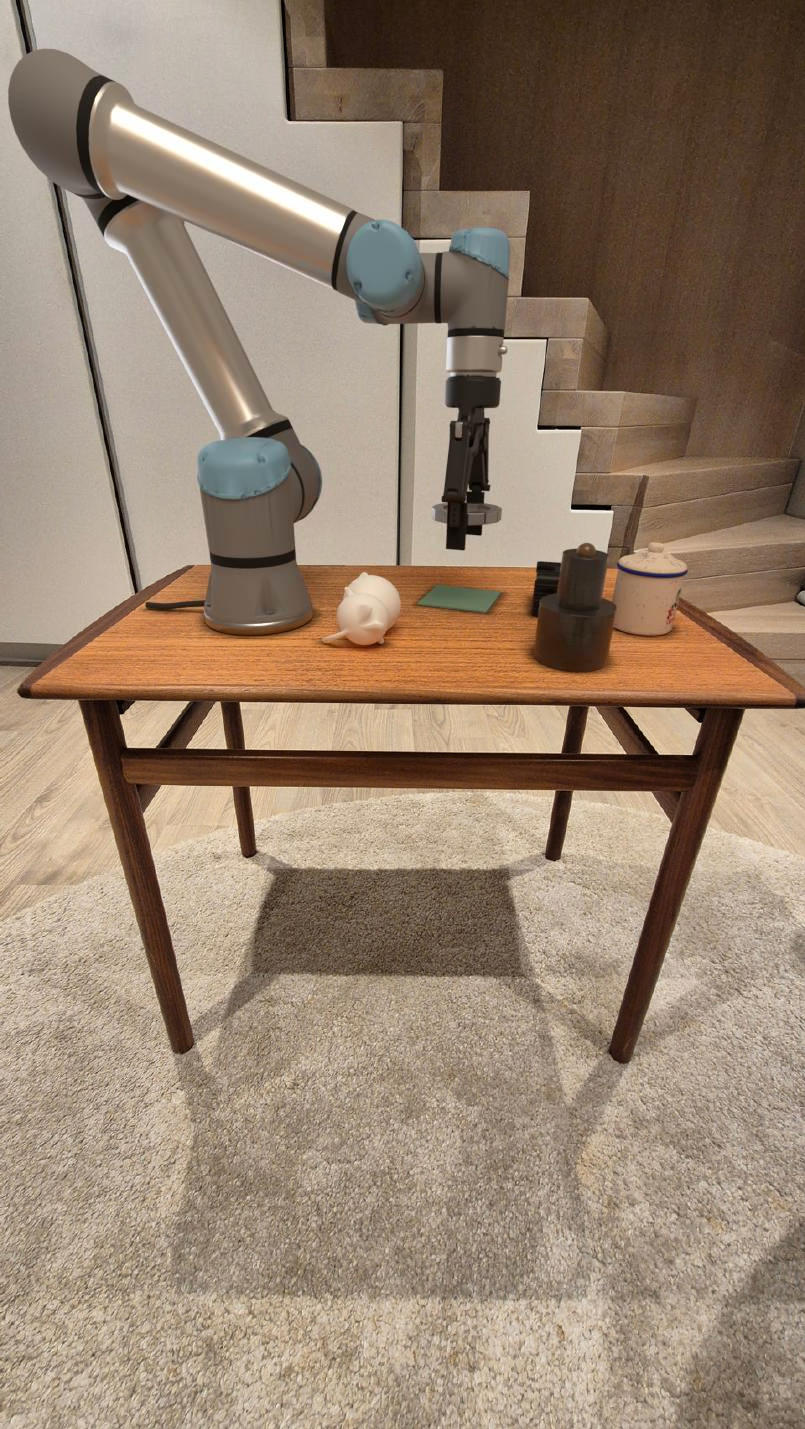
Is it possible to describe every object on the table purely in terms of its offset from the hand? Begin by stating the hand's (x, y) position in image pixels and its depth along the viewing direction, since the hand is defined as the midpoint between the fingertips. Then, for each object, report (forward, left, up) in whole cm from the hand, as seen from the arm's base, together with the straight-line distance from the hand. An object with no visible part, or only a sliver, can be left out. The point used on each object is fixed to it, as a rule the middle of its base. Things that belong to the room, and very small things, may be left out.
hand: (464, 541), depth 92 cm
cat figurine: (-8, -22, -9) cm, 25 cm away
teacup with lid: (+27, -2, -9) cm, 28 cm away
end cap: (+15, 0, -9) cm, 18 cm away
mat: (0, 0, -9) cm, 9 cm away
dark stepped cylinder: (+19, -19, -9) cm, 28 cm away
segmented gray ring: (0, 0, +3) cm, 3 cm away
